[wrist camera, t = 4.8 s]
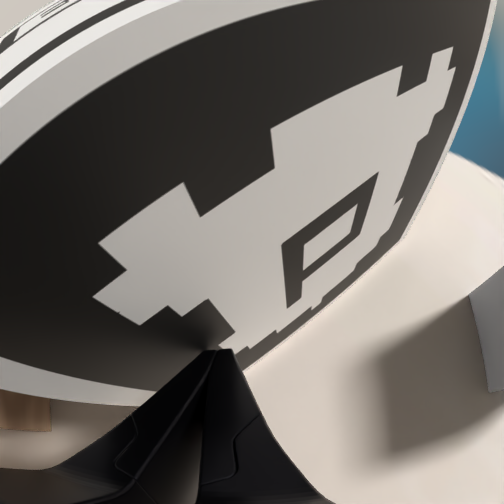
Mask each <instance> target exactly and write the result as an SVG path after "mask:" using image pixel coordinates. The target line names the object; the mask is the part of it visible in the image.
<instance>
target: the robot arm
mask: <svg viewBox="0 0 504 504" xmlns="http://www.w3.org/2000/svg"><path fill="white" fill-rule="evenodd" d="M0 504H335V503H333V502H332V501H330V500H328V499H327V498H325V497H324V496H323V495H322V494H320V493H319V492H318V491H317V490H316V489H315V488H314V487H313V486H312V485H311V483H310V482H309V481H308V480H307V479H306V478H305V476H304V475H303V474H302V473H301V472H300V470H299V469H298V468H297V467H296V465H295V464H294V463H293V462H292V460H291V459H290V458H289V457H288V455H287V454H286V453H285V452H284V450H283V449H282V447H281V446H280V445H279V443H278V442H277V440H276V439H275V437H274V436H273V434H272V432H271V430H270V428H269V427H268V425H267V423H266V421H265V419H264V416H263V415H262V413H261V411H260V408H259V406H258V404H257V402H256V400H255V398H254V396H253V394H252V391H251V389H250V387H249V385H248V383H247V380H246V378H245V376H244V374H243V372H242V369H241V367H240V365H239V363H238V361H237V358H236V356H235V354H234V351H233V349H231V348H226V349H219V350H216V349H214V350H204V351H202V352H201V353H200V354H199V355H198V356H197V357H196V358H195V359H193V360H192V361H191V362H190V363H189V364H188V365H187V366H186V367H185V368H183V369H182V370H181V371H180V372H179V373H178V374H177V375H176V376H174V377H173V378H172V379H171V380H170V381H169V382H168V383H166V384H165V385H164V386H163V387H162V388H161V389H160V390H158V391H157V392H156V393H155V394H154V395H153V396H151V397H150V398H149V399H148V400H147V401H146V402H145V403H143V404H142V405H141V406H140V407H139V408H137V409H136V410H135V411H134V412H133V413H132V414H131V415H129V416H128V417H127V418H126V419H124V420H123V421H122V422H121V423H119V424H118V425H117V426H116V427H114V428H113V429H112V430H111V431H109V432H108V433H107V434H105V435H104V436H102V437H101V438H100V439H98V440H97V441H95V442H94V443H92V444H91V445H89V446H88V447H86V448H85V449H83V450H81V451H80V452H78V453H77V454H75V455H74V456H72V457H71V458H69V459H67V460H66V461H64V462H63V463H61V464H59V465H57V466H55V467H52V468H48V469H43V470H23V469H8V468H0Z"/></svg>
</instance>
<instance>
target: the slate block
mask: <svg viewBox="0 0 504 504" xmlns="http://www.w3.org/2000/svg"><path fill="white" fill-rule="evenodd" d="M469 299H470V302H471V306H472V310H473V314H474V318H475V322H476V326H477V330H478V335H479V339H480V344H481V349H482V354H483V359H484V365H485V371H486V377H487V384H488V392H489V393H490V392H496V391H502V390H504V266H503V267H502V268H501V269H500V270H498V271H497V272H496V273H495V274H494V275H492V276H491V277H490V278H489V279H488V280H486V281H485V282H484V283H483V284H481V285H480V286H479V287H478V288H476V289H475V290H474V291H473V292H471V293H470V294H469Z"/></svg>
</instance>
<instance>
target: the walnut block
mask: <svg viewBox="0 0 504 504" xmlns="http://www.w3.org/2000/svg"><path fill="white" fill-rule="evenodd" d="M0 428H2V429H14V430H28V431H51V418H50V398H45V397H39V396H33V395H28V394H23V393H17V392H13V391H8V390H3V389H0Z"/></svg>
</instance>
